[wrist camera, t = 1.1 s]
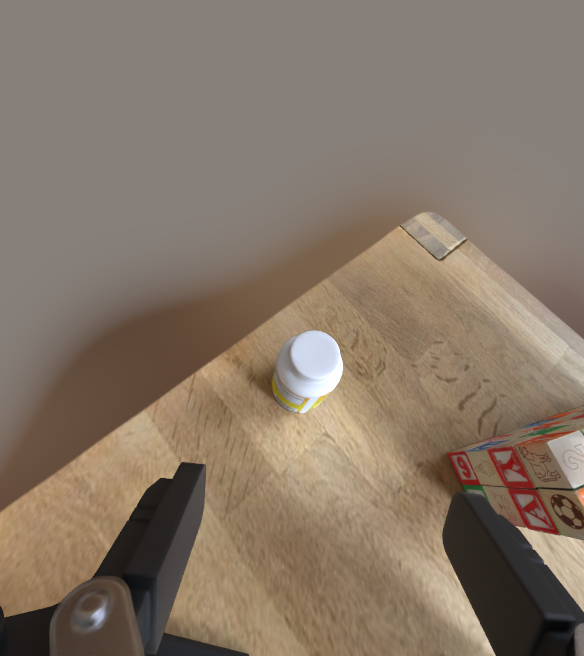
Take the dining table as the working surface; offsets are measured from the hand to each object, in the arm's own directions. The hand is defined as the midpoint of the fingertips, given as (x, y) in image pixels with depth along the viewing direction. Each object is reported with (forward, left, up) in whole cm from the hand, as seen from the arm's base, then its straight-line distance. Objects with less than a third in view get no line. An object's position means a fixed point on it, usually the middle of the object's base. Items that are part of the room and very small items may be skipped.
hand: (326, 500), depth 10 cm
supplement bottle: (0, +9, -21) cm, 23 cm away
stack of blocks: (+27, +9, -21) cm, 36 cm away
